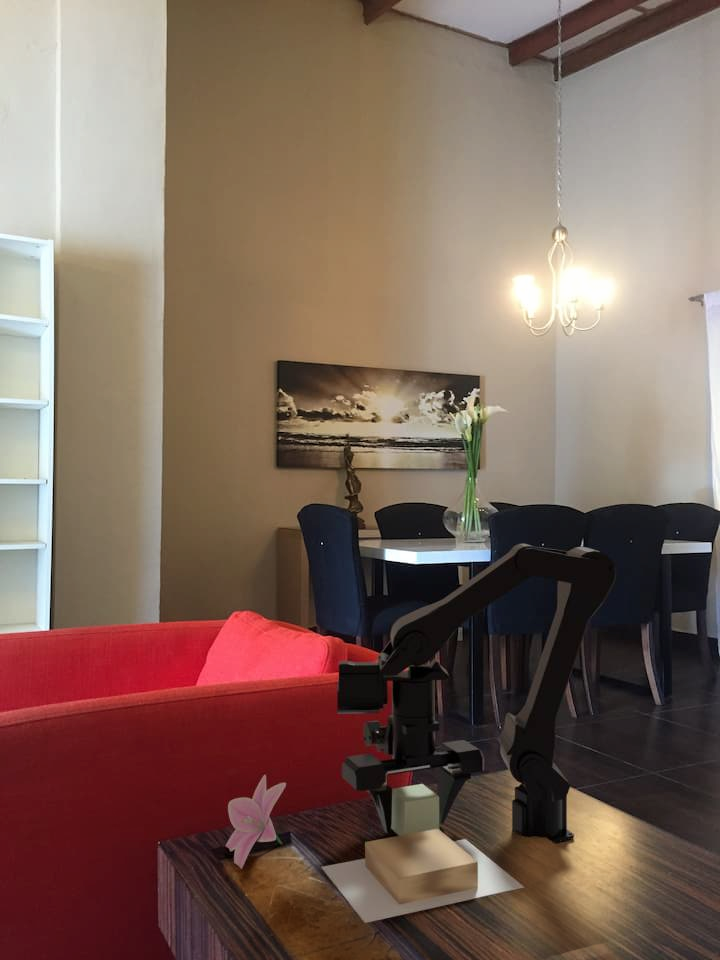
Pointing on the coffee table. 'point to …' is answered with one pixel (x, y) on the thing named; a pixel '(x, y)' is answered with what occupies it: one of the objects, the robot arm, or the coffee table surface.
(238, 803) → the lily
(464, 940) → the coffee table surface
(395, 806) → the top block
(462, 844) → the white rectangular plate
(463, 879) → the base block
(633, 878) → the coffee table surface
